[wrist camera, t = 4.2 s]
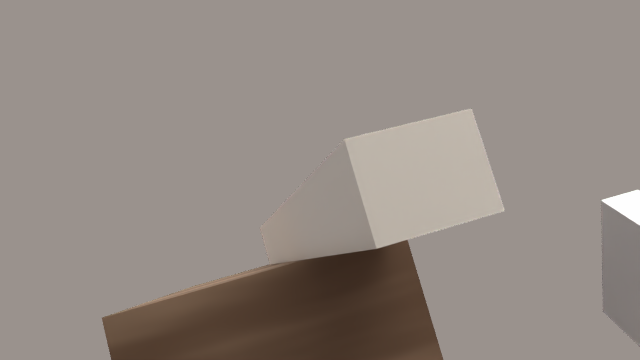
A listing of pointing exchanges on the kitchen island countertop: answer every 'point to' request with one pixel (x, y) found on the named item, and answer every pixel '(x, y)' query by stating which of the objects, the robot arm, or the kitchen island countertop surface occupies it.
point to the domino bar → (387, 190)
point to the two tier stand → (288, 314)
